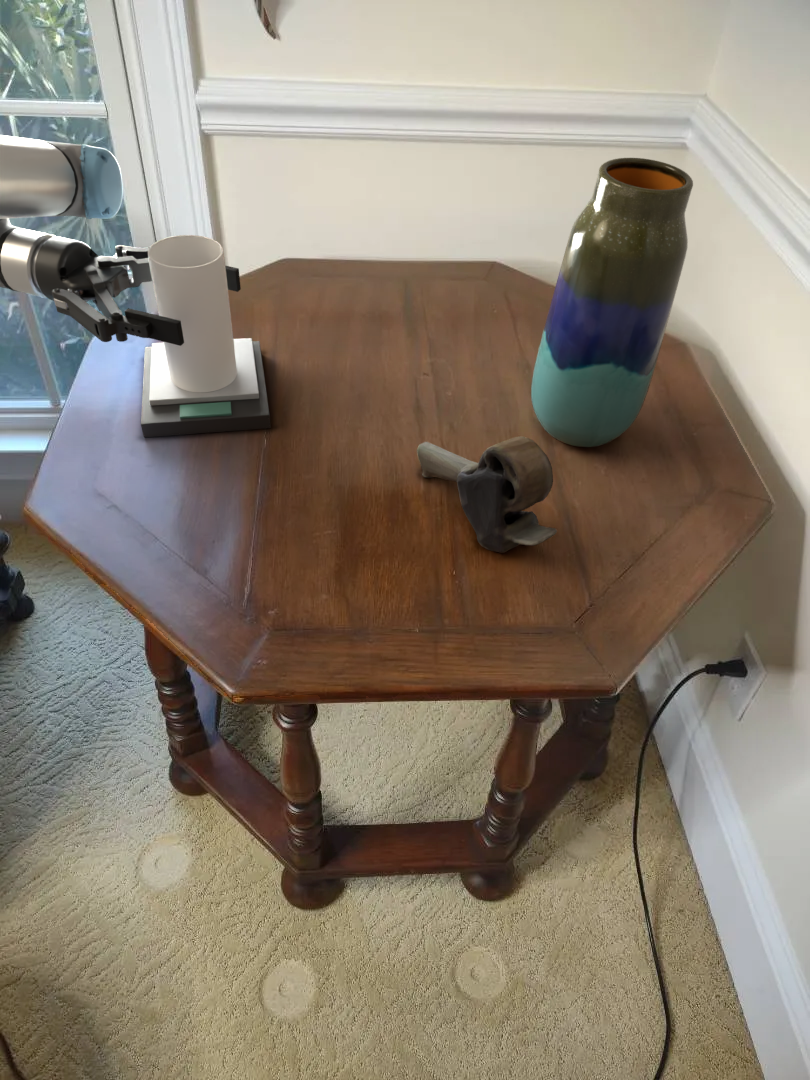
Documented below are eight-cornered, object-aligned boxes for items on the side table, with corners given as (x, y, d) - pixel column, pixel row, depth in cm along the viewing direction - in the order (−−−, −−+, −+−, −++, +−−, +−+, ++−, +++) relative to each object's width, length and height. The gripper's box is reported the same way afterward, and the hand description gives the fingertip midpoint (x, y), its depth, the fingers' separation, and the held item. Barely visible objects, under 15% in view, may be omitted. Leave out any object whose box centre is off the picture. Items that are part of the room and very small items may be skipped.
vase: (539, 464, 92) (603, 201, 70) (511, 397, 102) (559, 147, 80) (647, 459, 94) (742, 201, 72) (610, 394, 104) (683, 149, 82)
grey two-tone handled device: (402, 471, 90) (407, 387, 82) (442, 454, 93) (450, 371, 84) (519, 582, 79) (538, 498, 70) (560, 559, 81) (584, 475, 73)
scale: (143, 437, 91) (139, 418, 89) (147, 359, 103) (143, 341, 101) (270, 428, 94) (269, 409, 92) (260, 353, 106) (259, 335, 104)
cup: (250, 375, 97) (238, 253, 86) (196, 400, 92) (176, 275, 81) (210, 348, 101) (193, 228, 89) (156, 372, 96) (132, 248, 85)
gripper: (118, 256, 104) (261, 288, 100) (-8, 345, 87) (158, 389, 83) (106, 199, 99) (256, 231, 95) (-30, 283, 82) (146, 327, 78)
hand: (211, 305), depth 89 cm, fingers open, 13 cm apart
